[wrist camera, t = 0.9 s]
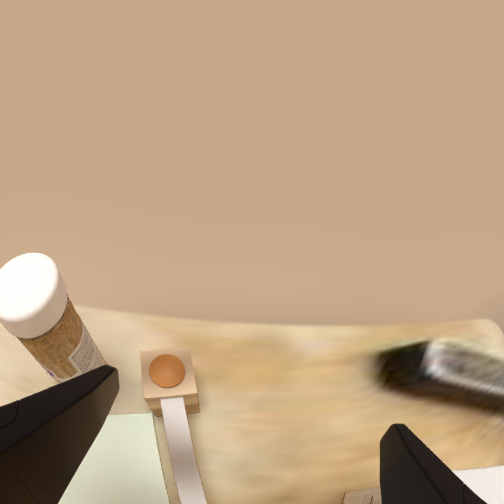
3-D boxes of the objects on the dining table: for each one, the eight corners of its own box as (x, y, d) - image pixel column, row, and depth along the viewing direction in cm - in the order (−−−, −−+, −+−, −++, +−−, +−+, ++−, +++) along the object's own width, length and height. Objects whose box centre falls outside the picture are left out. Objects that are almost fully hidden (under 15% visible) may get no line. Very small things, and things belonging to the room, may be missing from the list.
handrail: (241, 562, 12) (251, 581, 8) (193, 569, 11) (189, 589, 7) (192, 373, 23) (189, 344, 20) (151, 377, 22) (139, 349, 19)
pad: (177, 530, 13) (176, 530, 13) (55, 523, 11) (52, 523, 10) (152, 414, 20) (151, 412, 20) (43, 414, 17) (41, 413, 17)
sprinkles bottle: (62, 395, 19) (-26, 300, 10) (81, 353, 22) (17, 242, 13) (107, 416, 19) (26, 331, 10) (125, 370, 22) (72, 259, 13)
